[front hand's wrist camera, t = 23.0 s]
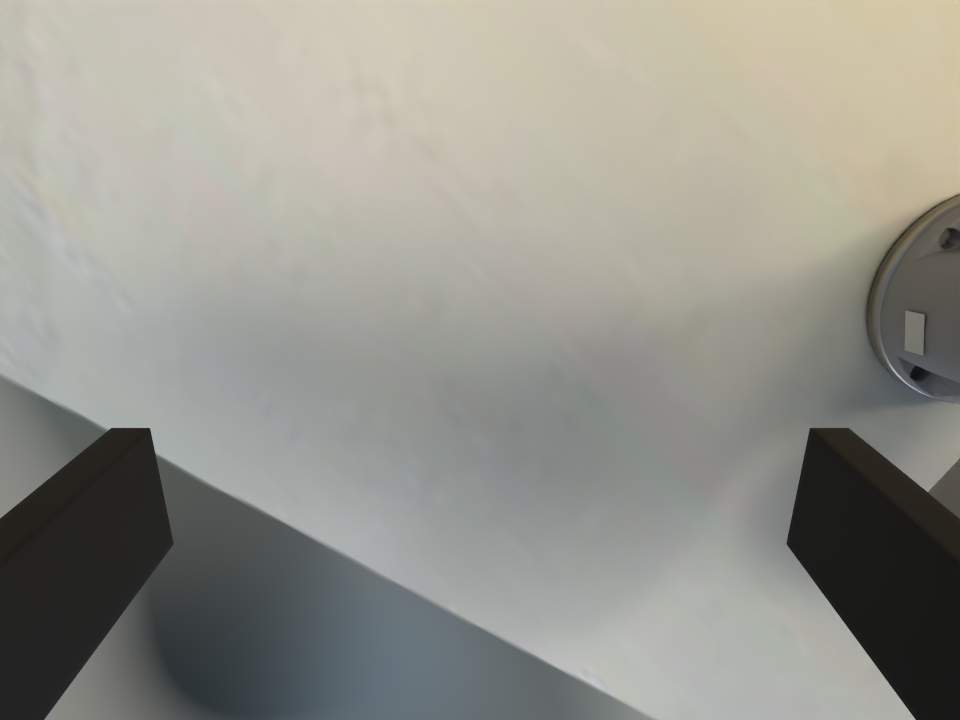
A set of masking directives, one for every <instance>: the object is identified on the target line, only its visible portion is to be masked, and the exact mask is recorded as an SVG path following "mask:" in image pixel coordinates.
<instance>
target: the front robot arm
mask: <svg viewBox="0 0 960 720" xmlns="http://www.w3.org/2000/svg"><path fill="white" fill-rule="evenodd" d="M868 331H869V336H870V340H871V343H872V346H873V349H874V351H875V353H876V355H877V357H878V358H879V360H880V362H881V363H882V364H883V366H884V367H885V368H886V369H887V370H888V371H889V372H890V373H891V374H892V375H893V376H894V377H896V378H897V379H898V380H900V381H901V382H903V383H905V384H906V385H908V386H910V387H911V388H913V389H915V390H916V391H918V392H920V393H922V394H924V395H927V396H929V397H933V398H936V399H939V400H942V401H945V402H950V403H956V404H960V195H959V196H956V197H954V198H952V199H950V200H948V201H946V202H944V203H942V204H941V205H939V206H937V207H936V208H934V209H933V210H931V211H930V212H928V213H927V214H925V215H924V216H923V217H922V218H920V219H919V220H918V221H917V222H916V223H914V224H913V225H912V226H911V227H910V228H909V229H908V230H907V231H906V232H905V233H904V234H903V236H902V237H901V238H900V239H899V240H898V241H897V243H896V244H895V245H894V246H893V248H892V249H891V250H890V252H889V254H888V255H887V257H886V258H885V260H884V262H883V263H882V265H881V267H880V269H879V271H878V274H877V276H876V278H875V281H874V284H873V287H872V290H871V294H870V298H869V305H868ZM172 545H173V539H172V534H171V529H170V524H169V519H168V514H167V509H166V504H165V500H164V495H163V490H162V485H161V480H160V475H159V470H158V465H157V460H156V455H155V450H154V445H153V441H152V436H151V431H150V428H111V429H110V430H108V431H107V432H106V433H105V434H104V435H102V436H101V437H100V438H99V439H97V440H96V441H95V442H94V443H93V444H91V445H90V446H89V447H88V448H86V449H85V450H84V451H83V452H81V453H80V454H79V455H78V456H77V457H75V458H74V459H73V460H72V461H70V462H69V463H68V464H67V465H65V466H64V467H63V468H62V469H61V470H59V471H58V472H57V473H56V474H55V475H53V476H52V477H51V478H50V479H48V480H47V481H46V482H45V483H43V484H42V485H41V486H40V487H38V488H37V489H36V490H35V491H34V492H32V493H31V494H30V495H29V496H27V497H26V498H25V499H24V500H23V501H21V502H20V503H19V504H18V505H16V506H15V507H14V508H13V509H11V510H10V511H9V512H8V513H7V514H5V515H4V516H3V517H2V518H0V720H44V719H45V718H46V716H47V715H48V714H49V712H50V711H51V710H52V708H53V707H54V706H55V704H56V703H57V701H58V700H59V699H60V697H61V696H62V695H63V693H64V692H65V690H66V689H67V688H68V687H69V685H70V684H71V682H72V681H73V680H74V678H75V677H76V676H77V674H78V673H79V672H80V670H81V669H82V668H83V666H84V665H85V663H86V662H87V661H88V659H89V658H90V657H91V655H92V654H93V653H94V651H95V650H96V649H97V647H98V646H99V644H100V643H101V642H102V640H103V639H104V638H105V636H106V635H107V634H108V632H109V631H110V630H111V628H112V627H113V625H114V624H115V623H116V621H117V620H118V619H119V617H120V616H121V615H122V613H123V612H124V611H125V609H126V608H127V606H128V605H129V604H130V602H131V601H132V600H133V598H134V597H135V596H136V594H137V593H138V591H139V590H140V589H141V587H142V586H143V585H144V583H145V582H146V581H147V579H148V578H149V577H150V575H151V574H152V573H153V571H154V570H155V568H156V567H157V566H158V564H159V563H160V562H161V560H162V559H163V558H164V556H165V555H166V553H167V552H168V551H169V549H170V548H171V547H172ZM787 545H788V547H789V548H790V549H791V551H792V552H793V553H794V555H795V556H796V558H797V559H798V560H799V562H800V563H801V564H802V566H803V567H804V568H805V570H806V571H807V573H808V574H809V575H810V577H811V578H812V579H813V581H814V582H815V583H816V585H817V586H818V587H819V589H820V590H821V592H822V593H823V594H824V596H825V597H826V598H827V600H828V601H829V602H830V604H831V605H832V606H833V608H834V609H835V611H836V612H837V613H838V615H839V616H840V617H841V619H842V620H843V621H844V623H845V624H846V625H847V627H848V628H849V630H850V631H851V632H852V634H853V635H854V636H855V638H856V639H857V640H858V642H859V643H860V644H861V646H862V647H863V649H864V650H865V651H866V653H867V654H868V655H869V657H870V658H871V659H872V661H873V662H874V663H875V665H876V666H877V668H878V669H879V670H880V672H881V673H882V674H883V676H884V677H885V678H886V680H887V681H888V682H889V684H890V685H891V687H892V688H893V689H894V691H895V692H896V693H897V695H898V696H899V697H900V699H901V700H902V701H903V703H904V704H905V706H906V707H907V708H908V710H909V711H910V712H911V714H912V715H913V716H914V718H915V719H916V720H960V459H959V460H958V461H957V462H956V463H955V464H954V466H953V467H952V468H951V469H950V470H949V471H948V472H947V473H946V474H945V475H944V476H943V477H942V478H941V479H940V480H939V481H938V482H937V483H936V484H935V485H934V486H933V488H932V489H931V490H930V491H929V492H926V491H925V490H924V489H923V488H922V487H920V486H919V485H918V484H917V483H915V482H914V481H913V480H912V479H910V478H909V477H908V476H907V475H906V474H904V473H903V472H902V471H901V470H899V469H898V468H897V467H896V466H895V465H893V464H892V463H891V462H890V461H888V460H887V459H886V458H885V457H883V456H882V455H881V454H880V453H879V452H877V451H876V450H875V449H874V448H872V447H871V446H870V445H869V444H868V443H866V442H865V441H864V440H863V439H861V438H860V437H859V436H858V435H856V434H855V433H854V432H853V431H852V430H850V429H849V428H810V431H809V436H808V441H807V445H806V450H805V455H804V460H803V465H802V470H801V475H800V480H799V485H798V490H797V495H796V499H795V504H794V509H793V514H792V519H791V524H790V529H789V534H788V539H787Z"/></svg>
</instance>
